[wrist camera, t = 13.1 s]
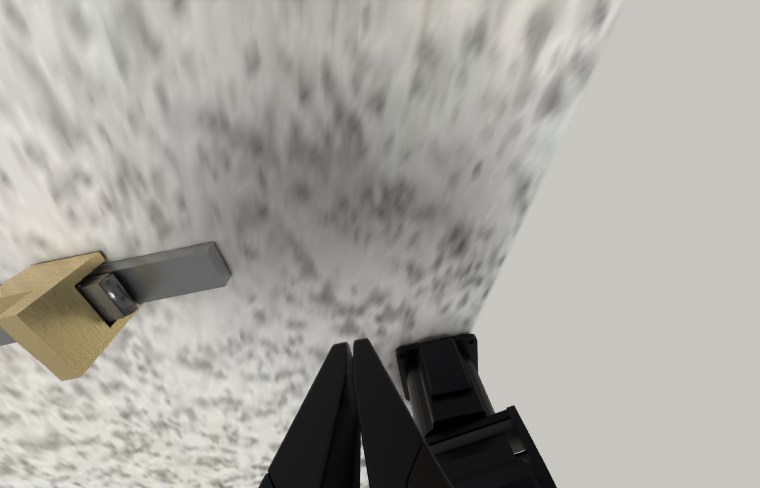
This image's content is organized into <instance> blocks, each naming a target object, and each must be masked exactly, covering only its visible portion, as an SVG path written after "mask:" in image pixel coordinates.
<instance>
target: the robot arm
mask: <svg viewBox="0 0 760 488" xmlns="http://www.w3.org/2000/svg"><path fill="white" fill-rule="evenodd" d="M402 353H403V354H402ZM396 357H397V362H398V367H399V371H400V376H401V380H402V385H403V389H404V394H405V398H406V400H408V401H410V402H411V407H412V412H413V417H414V419H413V418H412V416H411V414H410V412H409V410H408V409H407V407H406V405H405V403H404V401H403V400H402V398H401V396H400V394H399V393H398V391H397V389H396V387H395V385H394V384H393V382H392V380H391V378H390V376H389V375H388V373H387V371H386V369H385V367H384V366H383V364H382V362H381V360H380V358H379V357H378V355H377V353H376V351H375V349H374V348H373V346H372V344H371V342H370V341H369V339H368V338H363V339H358V340H355V341H354V346H353V356H352V353H351V350H350V347H349V344H348V343H347V342H343V343H338V344H334V345H333V346H332V348H331V350H330V351H329V353H328V355H327V357H326V359H325V361H324V363H323V365H322V367H321V369H320V371H319V373H318V375H317V376H316V378H315V380H314V382H313V384H312V386H311V388H310V390H309V392H308V394H307V396H306V398H305V399H304V401H303V403H302V405H301V407H300V409H299V411H298V413H297V415H296V417H295V419H294V421H293V423H292V424H291V426H290V428H289V430H288V432H287V434H286V436H285V438H284V440H283V442H282V444H281V446H280V448H279V449H278V451H277V453H276V455H275V457H274V459H273V461H272V463H271V465H270V467H269V469H268V473H269V474H268V473H266V474H265V476H264V478H263V480H262V482H261V484H260V486H259V488H360V448H361V436H362V442H363V448H364V455H365V461H366V467H367V474H368V480H369V486H370V488H557V487H556V485H555V483H554V481H553V479H552V477H551V475H550V473H549V471H548V469H547V467H546V465H545V463H544V461H543V459H542V457H541V456H540V453H539V452H538V450H537V448H536V446H535V444H534V442H533V440H532V438H531V436H530V434H529V433H528V431H527V429H526V427H525V425H524V423H523V421H522V420H521V417H520V416H519V414H518V412H517V410H516V408H515V406H510V407H507V410H504V411H501V412H498V413H495V412H494V410H493V407H492V405H491V403H490V400H489V398H488V396H487V394H486V391H485V389H484V386H483V384H482V382H481V380H480V377H479V375H478V353H477V339H476V336H475V335H474V334H466V335H461V336H456V337H451V338H446V339H441V340H436V341H431V342H426V343H421V344H416V345H411V346H406V347H401V348H398V349H397V350H396ZM523 450H524V451H523ZM520 451H523V452H520ZM517 452H520V453H517ZM514 453H517V454H514Z"/></svg>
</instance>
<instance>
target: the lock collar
mask: <svg viewBox="0 0 760 488" xmlns="http://www.w3.org/2000/svg"><path fill="white" fill-rule="evenodd" d="M104 261H105V259H104V258H103V256H102V255H101V254H100V252H96V253H91V254H86V255H81V256H76V257H71V258H66V259H61V260H56V261H51V262H46V263H41V264H36V265H32V266H30V267H29V268H27V269H25V270H24V271H22V272H21V273H19V274H18V275H16V276H15V277H13V278H11V279H10V280H8V281H7V282H5V283H4V284H2V285H1V286H0V327H1V328H2V329H3V330H5V331H6V332H7V333H8V334H9V335H10V336H11V337H12V338H13V339H15V340H16V341H17V342H18V343H19V344H20V345H21V346H22V347H23V348H25V349H26V350H27V351H28V352H29V353H30V354H31V355H32V356H34V357H35V358H36V359H37V360H39V361H40V362H41V363H42V364H43V365H45V366H46V367H47V368H48V369H49V370H50V371H51V372H52V373H53V374H55V375H56V376H57V377H58V378H59V379H60V380H61V381H64V380H69V379H74V378H79V377H82V375H83V374H84V373H85V372H86V371H87V370H88V368H89V367H90V366H91V365H92V364H93V362H94V361H95V360H96V359H97V358H98V356H99V355H100V354H101V353H102V352H103V351H104V349H105V348H106V347H107V346H108V345H109V343H110V342H111V341H112V340H113V339H114V338H115V336H116V335H117V334H118V333H119V332H120V330H121V329H122V328H123V327H124V326H125V325H126V323H127V322H128V321H129V320H130V319H131V317H132V316H133V315H134V314H135V313H136V311H137V310H138V309H139V308H140V305H139V304H136V305H137V306H138V309H137V310H136V311H135V312H134V313H132V314H130V315H128V316H126V317H125V318H122V319H117V320H113V321H108V322H104V321H103V320H102V318H101V317H100V316H99V315H98V314H97V313H96V311H95V310H94V309H93V308H92V307H91V306H90V305H89V303H88V302H87V301H86V300H85V299H84V298H83V296H82V295H81V294H80V293H79V292H78V291H77V290H76V288H75V287H74V286H75V285H76V284H77V283H78V282H79V281H81V280H82V279H83V278H84V277H86V276H87V275H88V274H89V273H90V272H92V271H93V270H94V269H95V268H97V267H98V266H99V265H100V264H101V263H103V262H104Z"/></svg>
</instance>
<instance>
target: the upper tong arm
mask: <svg viewBox="0 0 760 488" xmlns="http://www.w3.org/2000/svg"><path fill="white" fill-rule="evenodd" d="M74 287H75V288H76V290H77V291H78V292H79V293H80V294H81V295H82V296H83V298H84V299H85V300H86V301H87V302H88V303H89V305H90V306H91V307H92V308H93V309H94V310H95V311H96V313H97V314H98V315H99V316H100V317H101V318H102V320H103V321H104V322H108V321H113V320H117V319H122V318H125V317H126V316H128V315H130V314H132V313H134V312H135V311H136V310H137V309H138V306H137V305H136V303H135V302H134V301H133V299H132V298H131V297H130V295H129V294H128V293H127V292H126V290H125V289H124V288H123V286H122V285H121V284H120V282H119V281H118V280H117V278H116V277H115V276H114V275H113V274H109V273H108V274H103V275H99V276H94V277H90V278H85V279H82V280H81V281H79V282H78V283H77V284H76V285H75V286H74ZM15 342H17V341H16V340H15V339H13V338H12V337H11V336H10V335H9V334H8V333H7V332H6V331H5V330H3V329H2V328H1V327H0V346H2V345H6V344H10V343H15Z"/></svg>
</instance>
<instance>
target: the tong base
mask: <svg viewBox="0 0 760 488" xmlns="http://www.w3.org/2000/svg"><path fill="white" fill-rule="evenodd" d="M108 273H109V274H113V275H114V276H115V277H116V278H117V280H118V281H119V282H120V284H121V285H122V286H123V288H124V289H125V290H126V292H127V293H128V294H129V295H130V297H131V298H132V299H133V301H134V302H135V303H136V304H139V303H144V302H149V301H154V300H159V299H164V298H169V297H174V296H179V295H184V294H189V293H194V292H199V291H204V290H209V289H214V288H219V287H224V286H226V284H227V282H228V280H229V278H230V276H231V273H230V271H229V269H228V267H227V265H226V263H225V262H224V260H223V258H222V256H221V254H220V252H219V250H218V248H217V246H216V244H215V242H210V243H205V244H200V245H195V246H190V247H185V248H181V249H176V250H171V251H166V252H161V253H156V254H151V255H146V256H141V257H136V258H131V259H126V260H121V261H116V262H111V263H106V264H101V265H99V266H98V267H97V268H95V269H94V270H93V271H92V272H90V273H89V274H88V275H87V276H86V277H84V278H83V279H85V278H90V277H94V276H99V275H103V274H108ZM1 285H2V284H1ZM1 285H0V286H1Z"/></svg>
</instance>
